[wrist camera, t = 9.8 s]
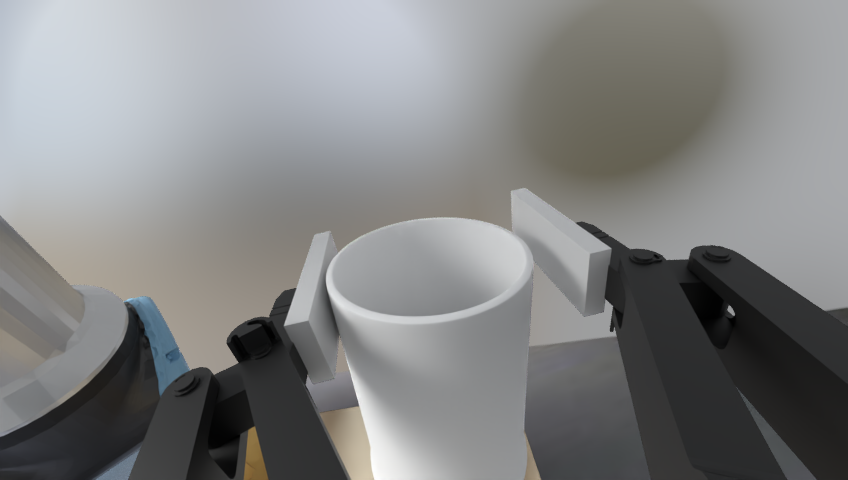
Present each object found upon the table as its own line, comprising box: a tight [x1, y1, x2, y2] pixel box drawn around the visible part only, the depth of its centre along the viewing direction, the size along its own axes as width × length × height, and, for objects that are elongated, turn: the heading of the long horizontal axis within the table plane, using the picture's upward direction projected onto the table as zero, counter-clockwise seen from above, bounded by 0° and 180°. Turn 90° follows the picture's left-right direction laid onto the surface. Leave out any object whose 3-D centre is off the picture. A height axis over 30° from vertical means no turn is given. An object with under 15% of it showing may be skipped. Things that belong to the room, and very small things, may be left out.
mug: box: [326, 217, 534, 480], centre depth 16 cm, size 12×8×12 cm
